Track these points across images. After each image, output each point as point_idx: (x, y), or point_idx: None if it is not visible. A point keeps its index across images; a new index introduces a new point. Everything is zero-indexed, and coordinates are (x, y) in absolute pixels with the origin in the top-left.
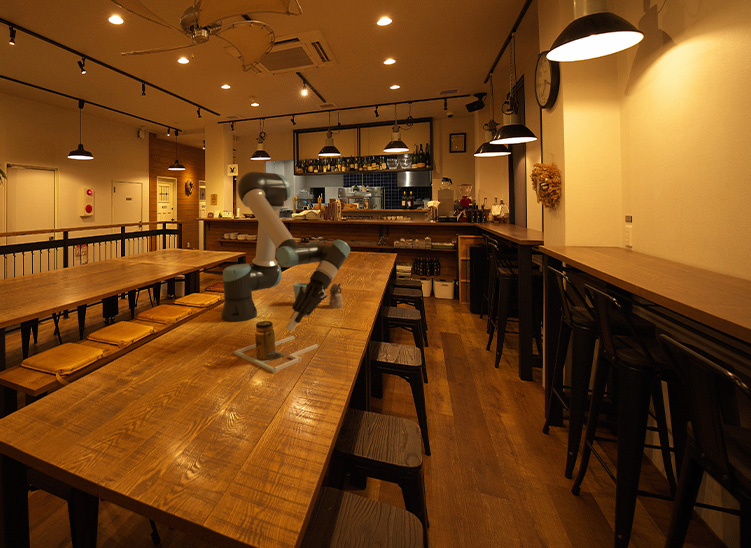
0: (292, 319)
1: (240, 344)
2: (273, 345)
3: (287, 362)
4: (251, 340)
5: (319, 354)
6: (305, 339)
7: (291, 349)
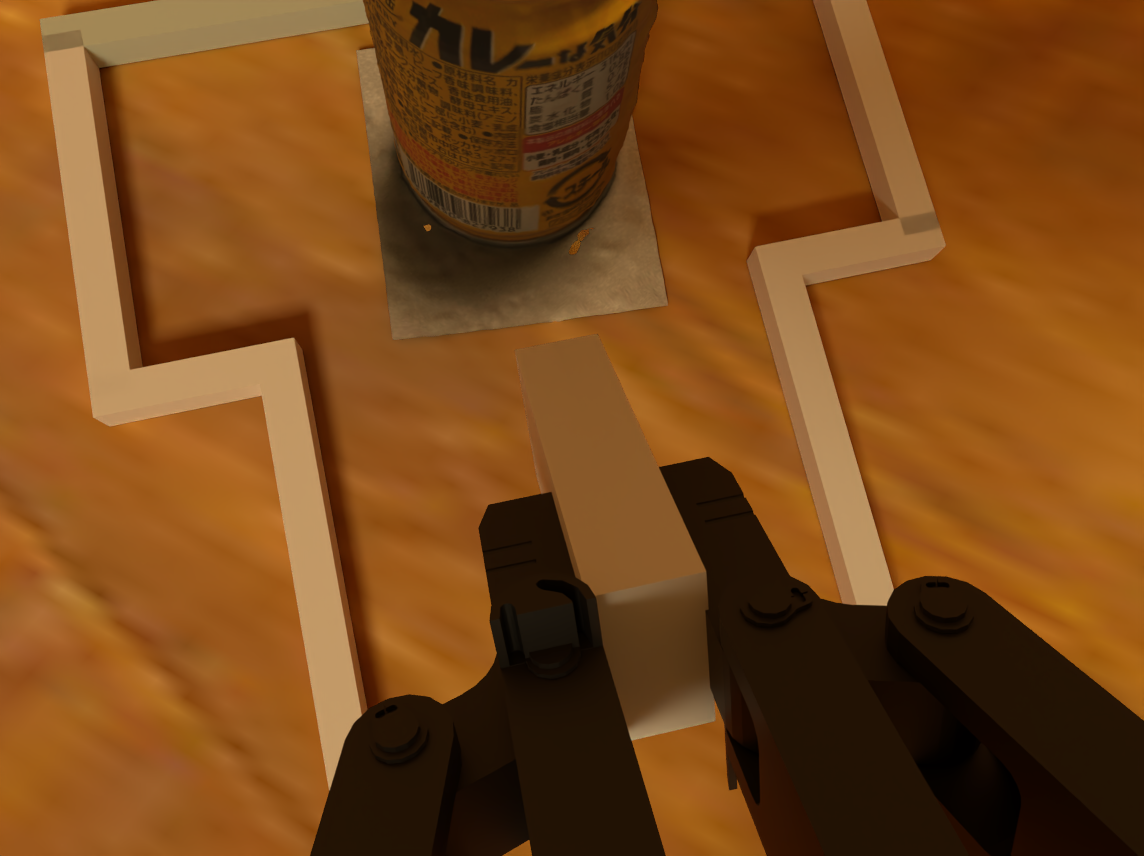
0: (572, 447)
1: (1066, 64)
2: (398, 118)
3: (95, 218)
4: (1133, 211)
5: (112, 723)
6: (755, 843)
7: (528, 490)
